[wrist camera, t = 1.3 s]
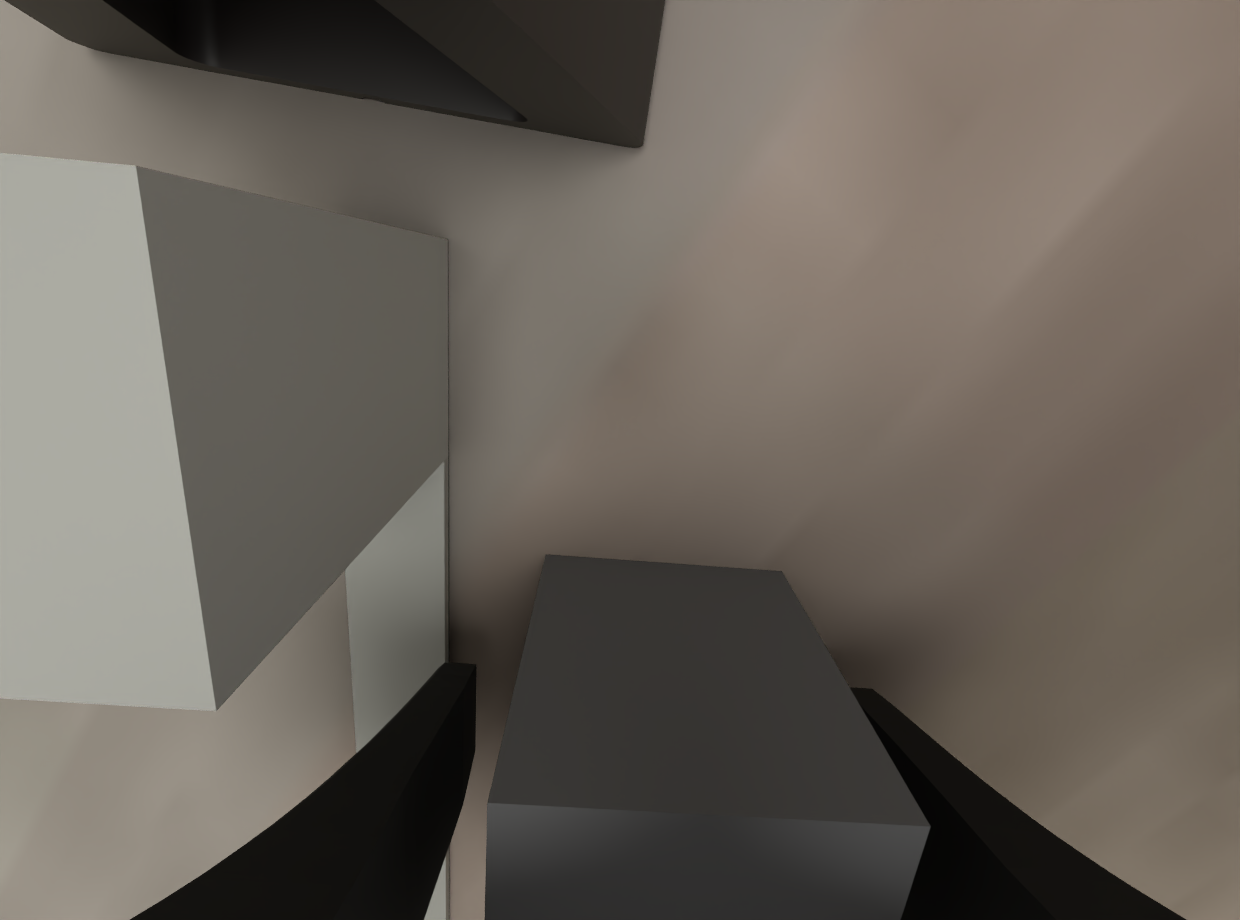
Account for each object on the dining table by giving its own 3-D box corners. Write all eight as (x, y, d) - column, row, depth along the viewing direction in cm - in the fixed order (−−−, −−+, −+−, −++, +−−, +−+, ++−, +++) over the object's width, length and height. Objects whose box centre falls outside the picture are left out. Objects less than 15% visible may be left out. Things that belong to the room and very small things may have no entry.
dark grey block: (781, 571, 12) (931, 826, 7) (728, 852, 15) (803, 1220, 9) (545, 554, 12) (487, 802, 6) (530, 842, 14) (477, 1212, 9)
